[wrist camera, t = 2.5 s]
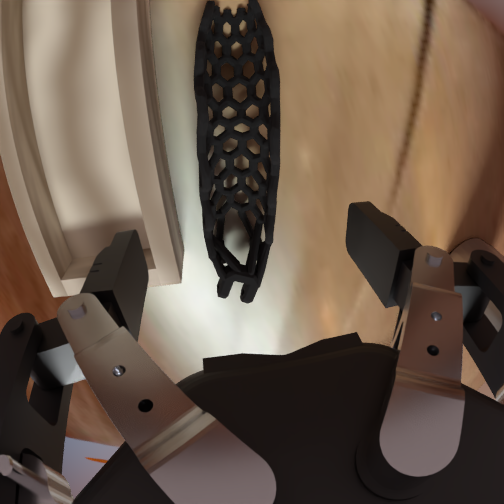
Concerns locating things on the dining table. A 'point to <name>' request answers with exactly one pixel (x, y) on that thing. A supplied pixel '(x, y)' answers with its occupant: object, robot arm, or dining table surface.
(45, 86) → the rectangular tray
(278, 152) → the decorative element
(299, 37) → the dining table surface
